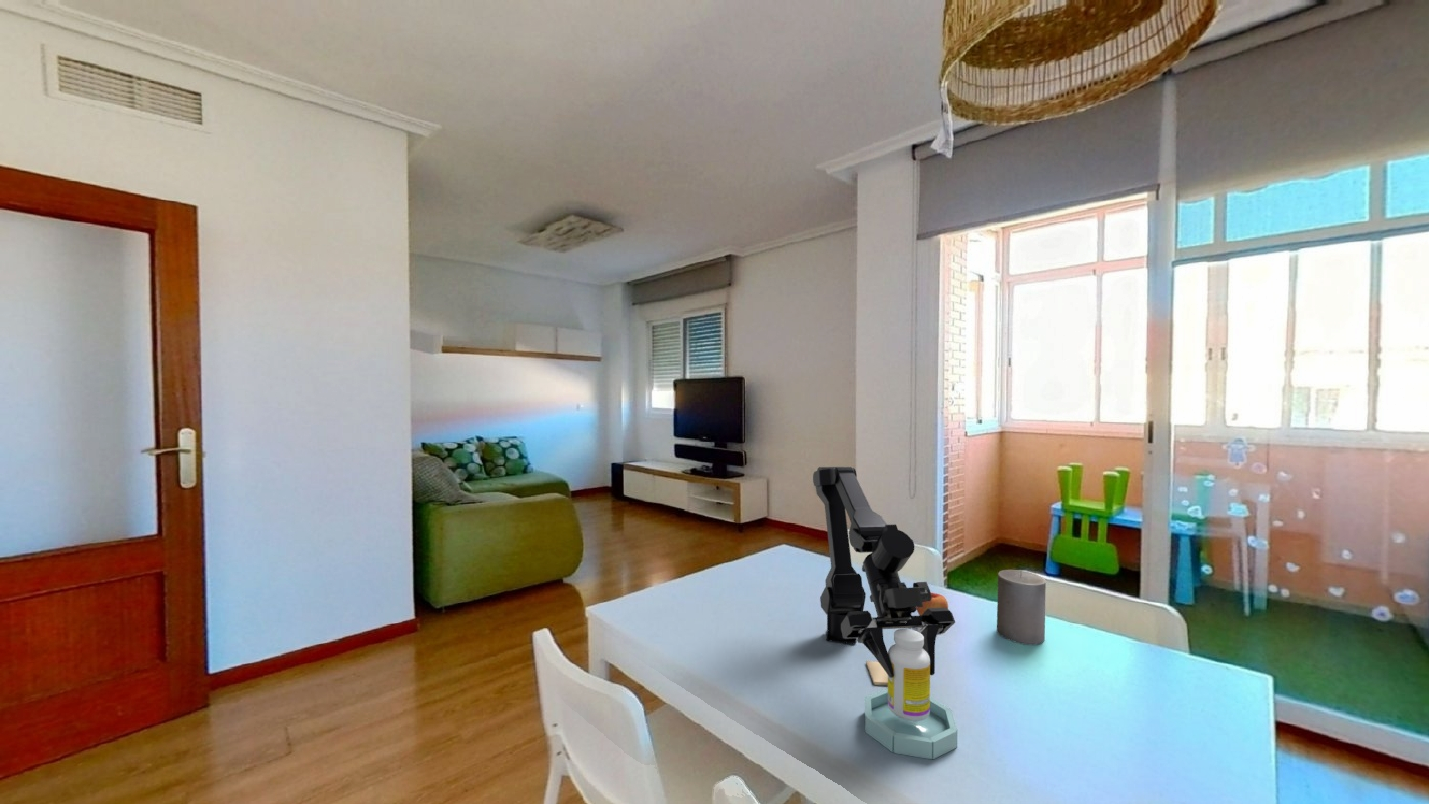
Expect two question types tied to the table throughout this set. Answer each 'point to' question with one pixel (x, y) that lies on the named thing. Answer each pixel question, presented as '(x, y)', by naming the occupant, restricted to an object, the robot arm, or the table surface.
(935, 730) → the bowl
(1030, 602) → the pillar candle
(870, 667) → the cork mat
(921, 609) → the apple
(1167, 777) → the table surface
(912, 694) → the supplement bottle
